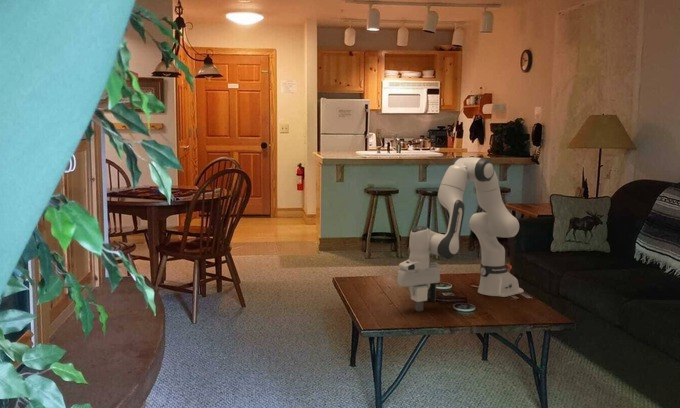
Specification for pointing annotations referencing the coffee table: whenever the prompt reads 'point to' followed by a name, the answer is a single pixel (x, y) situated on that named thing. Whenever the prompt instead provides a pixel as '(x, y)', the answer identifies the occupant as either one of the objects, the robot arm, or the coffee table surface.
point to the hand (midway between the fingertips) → (418, 294)
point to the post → (419, 306)
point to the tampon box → (431, 293)
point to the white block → (419, 293)
